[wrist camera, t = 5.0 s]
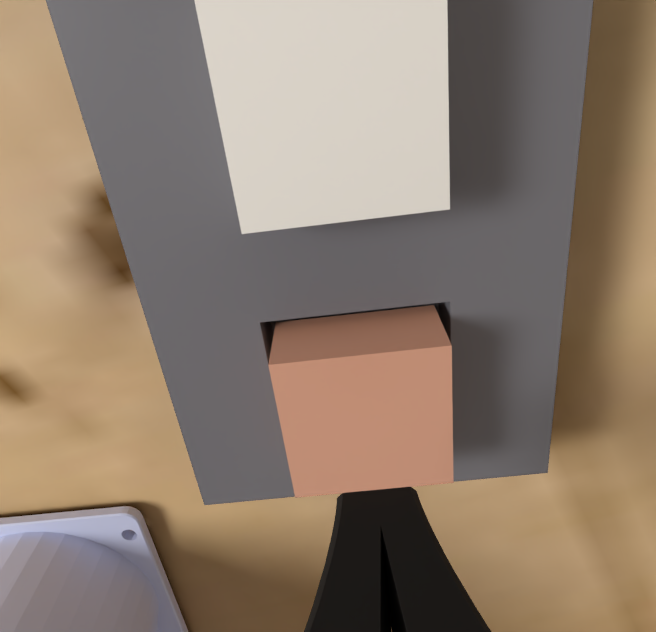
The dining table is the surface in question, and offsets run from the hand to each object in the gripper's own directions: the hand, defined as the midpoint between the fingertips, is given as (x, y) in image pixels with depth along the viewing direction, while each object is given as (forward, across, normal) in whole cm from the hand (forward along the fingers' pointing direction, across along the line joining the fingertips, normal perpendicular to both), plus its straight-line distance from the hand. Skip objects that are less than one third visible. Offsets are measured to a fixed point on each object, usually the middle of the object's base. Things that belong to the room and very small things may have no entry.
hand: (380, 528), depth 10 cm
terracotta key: (+5, 0, 0) cm, 5 cm away
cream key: (+5, 0, -7) cm, 9 cm away
